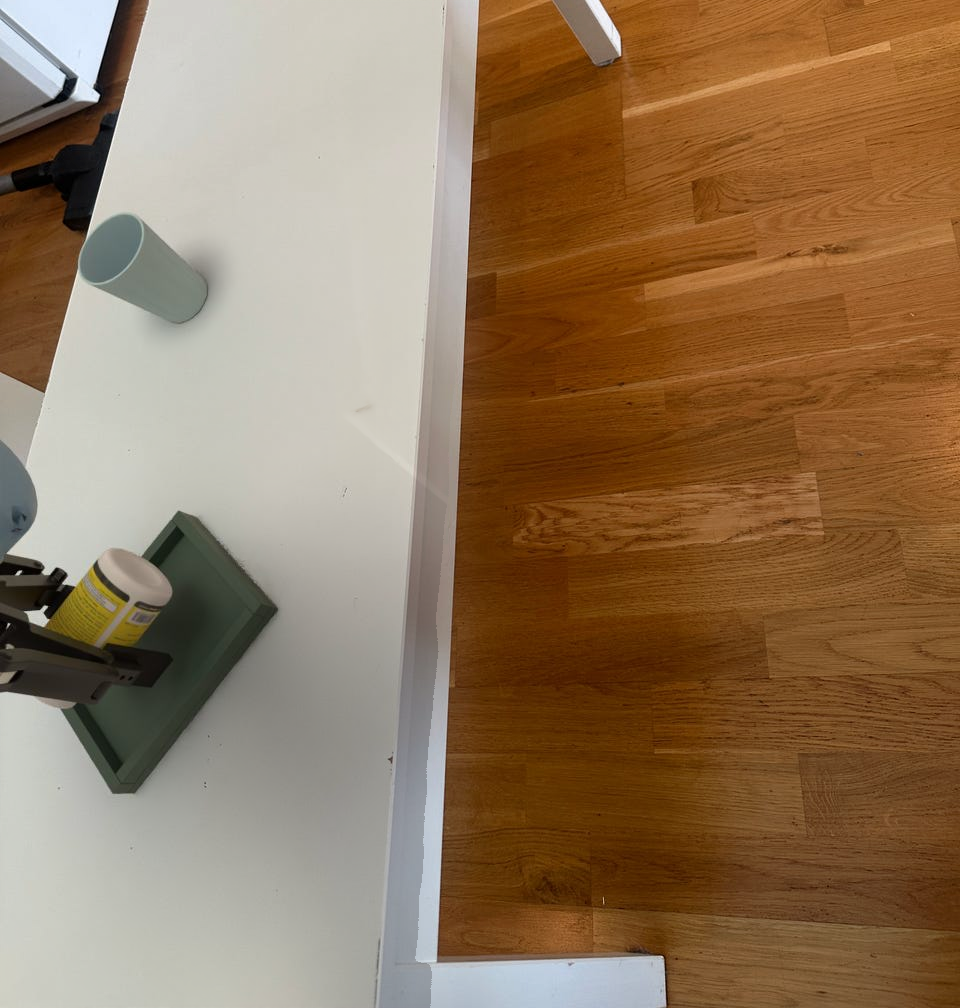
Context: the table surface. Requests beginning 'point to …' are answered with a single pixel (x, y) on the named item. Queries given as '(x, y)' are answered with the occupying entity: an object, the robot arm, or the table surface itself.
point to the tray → (175, 654)
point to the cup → (141, 269)
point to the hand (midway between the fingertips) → (138, 641)
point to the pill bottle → (111, 604)
